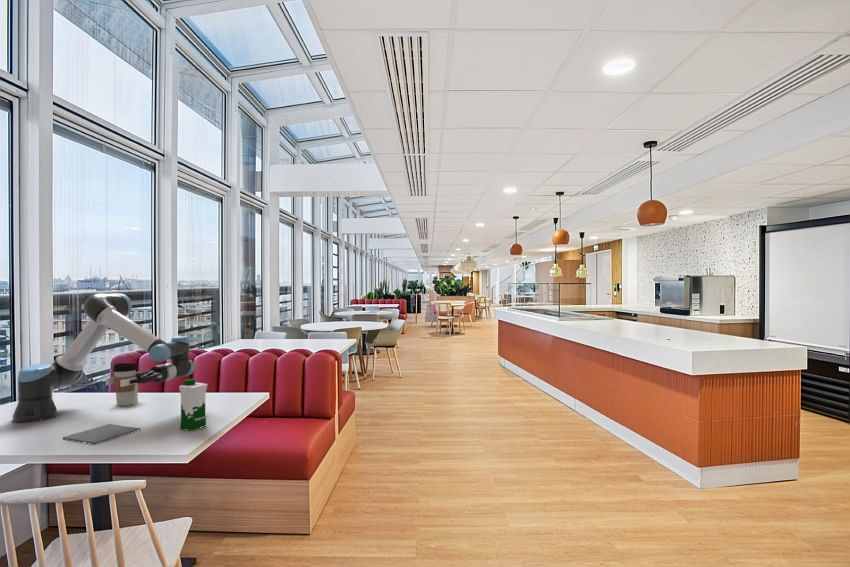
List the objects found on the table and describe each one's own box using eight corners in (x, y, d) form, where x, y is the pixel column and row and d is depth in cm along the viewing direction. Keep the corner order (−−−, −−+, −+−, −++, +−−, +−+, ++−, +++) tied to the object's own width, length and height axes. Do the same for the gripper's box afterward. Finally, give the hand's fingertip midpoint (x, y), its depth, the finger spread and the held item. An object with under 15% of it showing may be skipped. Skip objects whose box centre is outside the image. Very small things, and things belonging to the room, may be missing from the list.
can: (126, 400, 232) (126, 377, 232) (142, 401, 231) (142, 378, 231) (111, 405, 223) (111, 381, 223) (128, 405, 222) (128, 381, 222)
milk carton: (194, 423, 192) (194, 377, 193) (210, 425, 189) (210, 378, 190) (176, 429, 184) (176, 381, 184) (192, 432, 181) (193, 382, 181)
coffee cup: (115, 398, 190) (115, 363, 190) (138, 396, 193) (138, 361, 193) (110, 402, 182) (111, 366, 182) (135, 400, 186) (135, 364, 186)
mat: (62, 439, 173) (62, 437, 173) (109, 425, 190) (109, 423, 190) (94, 444, 167) (94, 442, 167) (140, 430, 184) (140, 428, 184)
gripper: (179, 382, 201) (132, 393, 180) (145, 379, 208) (96, 390, 186) (179, 365, 201) (132, 375, 180) (146, 363, 208) (96, 372, 186)
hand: (113, 382), depth 183 cm, fingers closed on coffee cup, 7 cm apart
